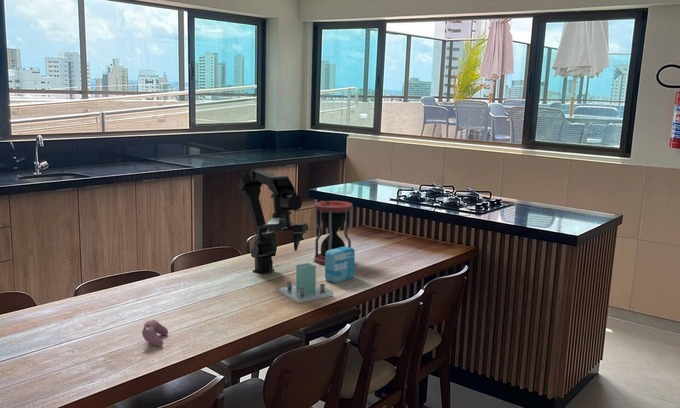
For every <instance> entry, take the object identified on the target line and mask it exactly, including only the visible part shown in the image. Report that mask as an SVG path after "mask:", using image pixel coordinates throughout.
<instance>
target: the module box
mask: <svg viewBox="0 0 680 408" xmlns="http://www.w3.org/2000/svg"><path fill="white" fill-rule="evenodd" d="M316 269H317V268H316V265H314V264H311V263H310V262H307V263H306V262H305V263H301V264H296V269H295V270H296V273H295V276H296V277H295V279H296V281H295V282H296V283H295V285H296V289H297V290H299V288H304V293H307V292H312V291H315V290H316V284H317V283H316V281H317V279H316V275H317V274H316V271H317V270H316Z"/></svg>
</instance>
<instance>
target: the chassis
mask: <svg viewBox="0 0 680 408" xmlns="http://www.w3.org/2000/svg"><path fill="white" fill-rule="evenodd" d="M325 286H326V284H324V283H320V284H318V283H316V290H315V291H312V292H307V293H304V288H299V290H297V289H296V284H294V285H293V282H292V281H287V282H286V286H283V287H279V288H278V290H279V293H280V294H282V295H283V296H285V297H288V298H289V299H291V300H292V301H294V302H296V303H298V304H301V303H305V302H307V303H308V302H311V301H315V300H316V301H317V300H321V299H324V298H325V299H326V298H330V297H333V296H334V291H332V290H329V289H327V288H325Z"/></svg>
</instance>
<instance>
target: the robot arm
mask: <svg viewBox="0 0 680 408" xmlns="http://www.w3.org/2000/svg"><path fill="white" fill-rule="evenodd" d="M237 184H238V185H237V186H238V187H237V189H238V191H239V192H240V195H241V197H242V198H243V199H244V200H245V201H246V202H247V206H248V210H249V213H250V217H251V221H252V225H253V229H254V231H255V237H254V240H253V244H254V245H253V247H252V248H251V250H250V255H251V257H252V258H254V269H253V270H252V273H258V274H262V275H267V274H269V273H271V272H274V271H275V268H274V265H273V262H274V261H273V257H275V256H276V254H277V249H278V244H277V240H276V232H281V231H284V232H285V231H287V232H288V231H292V232H293V233H291V234H292V236H293V250H294V252H297V250H298V248H299V245H300V243H301V242H300V241H301V239H302V237H303V236H304V234H306V232H308V231H309V229H310V228H309V225H308V223H307V222H305V223H304V222H303V223H302V222H301V223H299V222H298V223H295V224H293V223H292V221H291V215H292V211H295V212H296V211H298V210H300V209H301V207H302V204H303V200H302V198H301V197H300V196H299V195H298V194H297V191H296V188H295V187H294V185H293V183H292V181H291V179H290V178H289V176H288V175H275V174H272V173H269V172H267V171H264V170H263V169H260V168H259V169H258V168H257V169H251V170H249V172H248V173H247V174H246V175H244V176H243V177H241V179H240V180H239V182H238V183H237ZM263 185H265V186H267V188H268V190H270V192H272V194H271V195H270V198H271V199H272V200H273V211H274V212H272V218H270V219H269V221H267V222H266V219H265V215H264V211H263V209H262V204H261V201H260V195H261V192H262V189H261V188H262V186H263Z"/></svg>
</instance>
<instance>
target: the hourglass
mask: <svg viewBox="0 0 680 408" xmlns="http://www.w3.org/2000/svg"><path fill="white" fill-rule="evenodd" d="M314 209H315V225H316V228H317V229H318V235H317V236H316V238H315V255H314V259H313V261H314V262H315V263H316V264H318V265H323V266H325V253H326V252H327V251H328V250H331V249H336V248H340V247H344V246H345V247H346V244H345V242H344V240H343V239H342V238H341V236H339V234H338V231H339V229H341V228H342V226H344V224H345V222H346V220H347V219H346V218H347V211H348V225H347V227H346V228H345V229H344V233H343V234H344V237H345V239H346V240H347V245H348V246H347V247H349V248H352V241H351V238H350V237H349V235H348V233H349V229H350V228H351V227H352V209H353V203H352V202H350V201H344V200H341V201H340V200H324V201H316V202H315V203H314ZM319 211H320V212H321V213H320V219H321V221H320V222H321V223H322V224H323V226H324V227H325V228H326V229H327V230H328V233H329V234H328V235H326V237H325V238H324V239H323V240H322V242H321V244H320V253H319V239H320V238H321V237H322V235H323V229H322V227H321V226H320V224H319Z"/></svg>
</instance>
